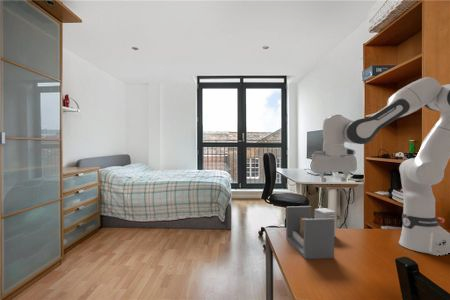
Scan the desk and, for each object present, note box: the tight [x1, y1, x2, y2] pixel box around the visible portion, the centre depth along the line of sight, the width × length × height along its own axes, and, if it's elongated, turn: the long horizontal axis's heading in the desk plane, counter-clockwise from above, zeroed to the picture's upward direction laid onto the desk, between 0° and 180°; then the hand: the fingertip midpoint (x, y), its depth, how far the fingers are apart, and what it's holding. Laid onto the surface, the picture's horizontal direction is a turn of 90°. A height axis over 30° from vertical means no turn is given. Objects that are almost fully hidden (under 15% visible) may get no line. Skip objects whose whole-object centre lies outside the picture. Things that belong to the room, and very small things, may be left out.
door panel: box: [299, 217, 308, 239], centre depth 109 cm, size 12×3×10 cm, turn 5°
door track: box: [285, 205, 335, 260], centre depth 109 cm, size 22×12×16 cm, turn 5°
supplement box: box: [314, 207, 337, 238], centre depth 124 cm, size 7×7×13 cm
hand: (333, 181), depth 112 cm, fingers open, 8 cm apart
